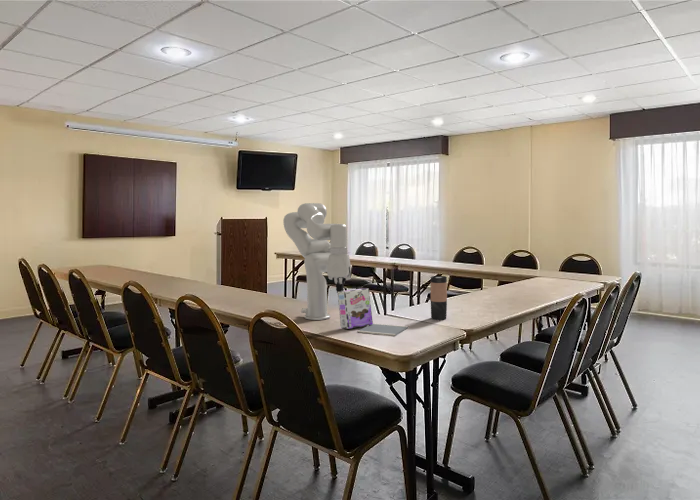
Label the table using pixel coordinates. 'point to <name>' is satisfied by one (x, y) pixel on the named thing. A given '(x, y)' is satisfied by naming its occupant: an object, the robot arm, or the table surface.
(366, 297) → the candy box
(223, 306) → the table surface
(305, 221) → the robot arm
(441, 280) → the travel mug
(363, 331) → the mat
